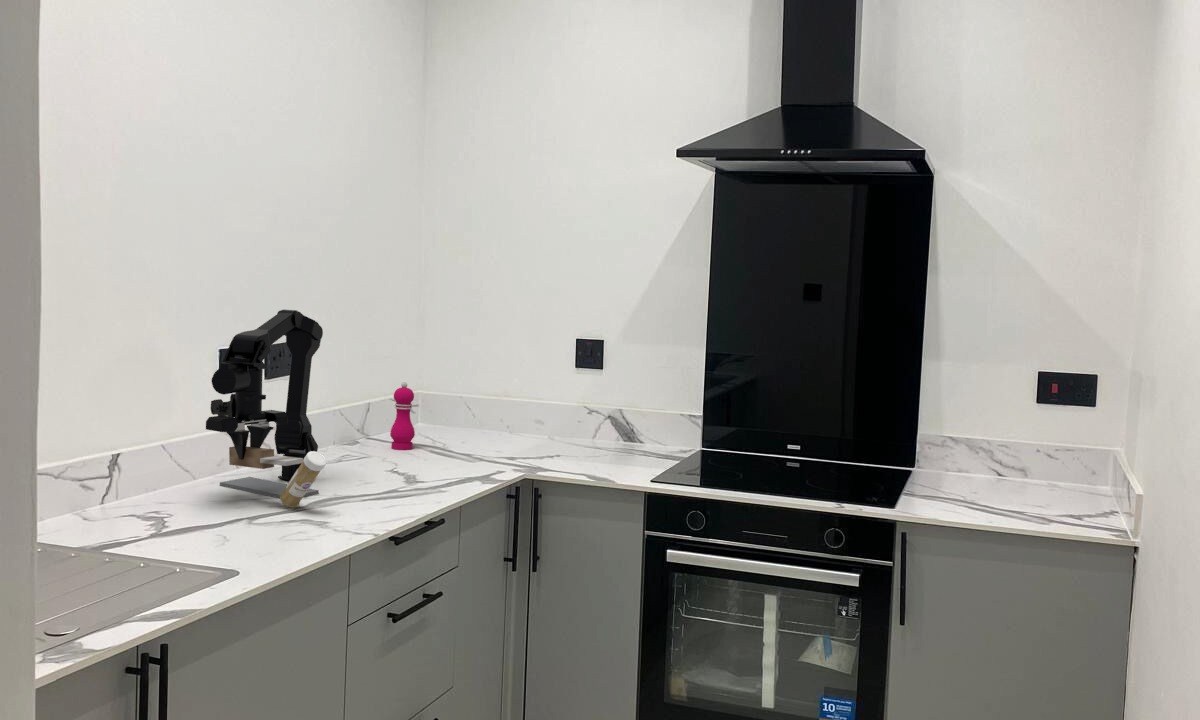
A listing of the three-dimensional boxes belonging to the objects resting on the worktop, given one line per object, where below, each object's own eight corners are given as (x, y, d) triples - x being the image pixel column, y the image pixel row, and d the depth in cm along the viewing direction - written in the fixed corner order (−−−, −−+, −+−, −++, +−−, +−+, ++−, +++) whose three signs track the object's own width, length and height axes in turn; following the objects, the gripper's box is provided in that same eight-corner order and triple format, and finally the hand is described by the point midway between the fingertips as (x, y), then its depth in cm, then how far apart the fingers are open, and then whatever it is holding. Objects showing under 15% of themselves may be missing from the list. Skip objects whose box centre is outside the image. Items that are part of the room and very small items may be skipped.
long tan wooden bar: (225, 465, 224) (225, 447, 223) (243, 462, 228) (243, 445, 228) (286, 472, 214) (285, 454, 214) (303, 469, 219) (303, 451, 218)
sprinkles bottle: (286, 509, 215) (315, 466, 210) (275, 494, 217) (303, 451, 212) (302, 506, 219) (331, 463, 214) (291, 491, 221) (319, 449, 216)
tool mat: (249, 479, 243) (249, 476, 243) (318, 493, 232) (318, 490, 232) (219, 485, 235) (219, 482, 235) (289, 500, 224) (289, 496, 224)
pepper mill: (388, 446, 300) (390, 380, 298) (412, 446, 302) (415, 381, 300) (390, 450, 293) (393, 383, 291) (415, 450, 295) (418, 383, 293)
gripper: (256, 383, 234) (254, 448, 236) (189, 389, 218) (188, 459, 219) (290, 388, 229) (288, 455, 230) (224, 394, 213) (222, 466, 214)
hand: (247, 458), depth 224 cm, fingers closed on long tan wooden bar, 3 cm apart
